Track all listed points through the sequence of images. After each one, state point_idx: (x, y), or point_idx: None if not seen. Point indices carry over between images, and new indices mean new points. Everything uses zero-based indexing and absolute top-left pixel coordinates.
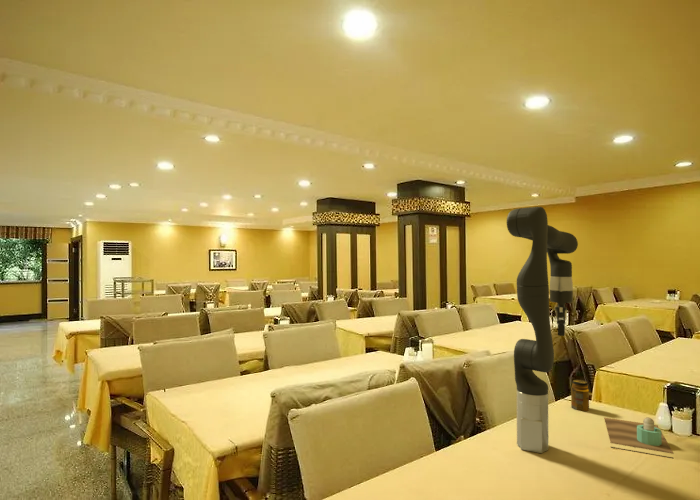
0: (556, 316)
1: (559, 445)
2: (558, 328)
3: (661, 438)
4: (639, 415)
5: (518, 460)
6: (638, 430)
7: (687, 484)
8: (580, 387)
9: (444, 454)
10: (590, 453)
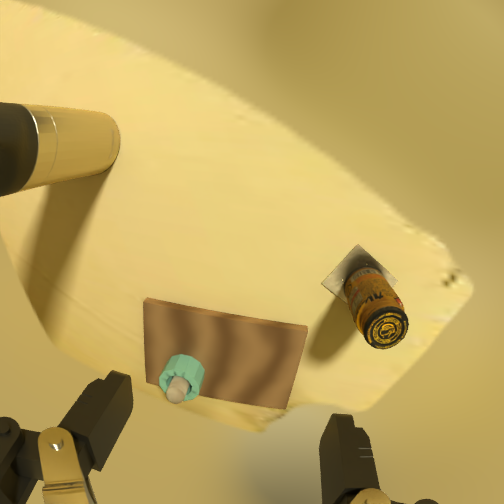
0: (45, 500)
1: (115, 198)
2: (88, 411)
3: None
4: (365, 396)
5: None
6: (173, 366)
7: (73, 353)
8: (362, 321)
9: (34, 17)
10: (104, 252)
